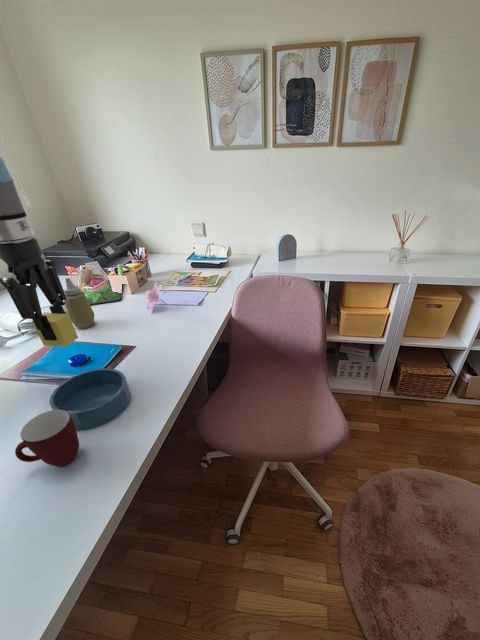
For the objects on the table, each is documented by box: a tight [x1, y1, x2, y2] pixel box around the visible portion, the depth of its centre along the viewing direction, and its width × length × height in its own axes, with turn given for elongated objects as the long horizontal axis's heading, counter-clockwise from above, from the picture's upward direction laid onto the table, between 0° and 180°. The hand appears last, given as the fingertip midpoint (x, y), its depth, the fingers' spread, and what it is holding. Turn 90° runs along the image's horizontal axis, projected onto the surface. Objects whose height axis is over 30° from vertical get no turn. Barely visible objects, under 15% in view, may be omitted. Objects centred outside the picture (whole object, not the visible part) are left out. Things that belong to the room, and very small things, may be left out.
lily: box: [145, 282, 167, 314], centre depth 120 cm, size 12×12×10 cm
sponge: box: [31, 312, 79, 348], centre depth 76 cm, size 6×4×7 cm
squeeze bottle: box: [63, 277, 95, 330], centre depth 106 cm, size 8×8×18 cm
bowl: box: [48, 367, 132, 431], centre depth 74 cm, size 17×17×5 cm
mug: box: [14, 409, 80, 468], centre depth 58 cm, size 11×8×10 cm
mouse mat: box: [64, 284, 123, 308], centre depth 136 cm, size 27×22×1 cm
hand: (57, 334), depth 77 cm, fingers closed on sponge, 4 cm apart
